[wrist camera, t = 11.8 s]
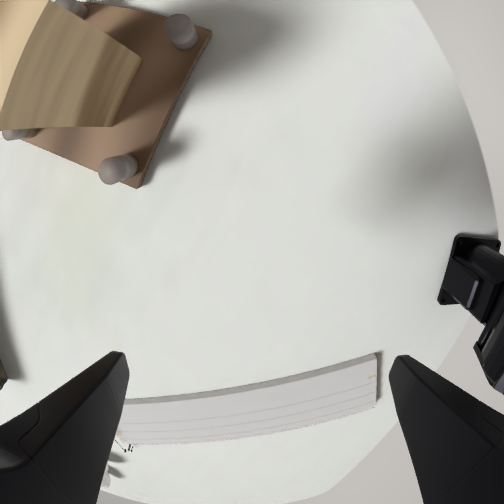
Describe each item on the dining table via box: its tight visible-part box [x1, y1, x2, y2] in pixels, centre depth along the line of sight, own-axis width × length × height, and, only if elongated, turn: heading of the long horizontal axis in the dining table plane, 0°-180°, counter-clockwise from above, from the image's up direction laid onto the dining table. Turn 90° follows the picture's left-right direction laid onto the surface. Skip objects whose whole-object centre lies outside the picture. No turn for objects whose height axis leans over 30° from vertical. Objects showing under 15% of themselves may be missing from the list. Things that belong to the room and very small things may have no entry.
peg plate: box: [2, 0, 212, 189], centre depth 15 cm, size 12×12×4 cm
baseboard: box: [114, 353, 377, 452], centre depth 27 cm, size 30×3×10 cm
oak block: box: [0, 0, 143, 131], centre depth 11 cm, size 5×5×11 cm
